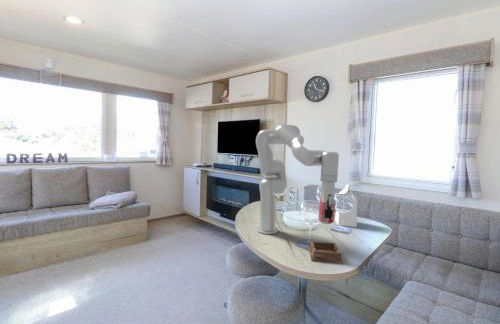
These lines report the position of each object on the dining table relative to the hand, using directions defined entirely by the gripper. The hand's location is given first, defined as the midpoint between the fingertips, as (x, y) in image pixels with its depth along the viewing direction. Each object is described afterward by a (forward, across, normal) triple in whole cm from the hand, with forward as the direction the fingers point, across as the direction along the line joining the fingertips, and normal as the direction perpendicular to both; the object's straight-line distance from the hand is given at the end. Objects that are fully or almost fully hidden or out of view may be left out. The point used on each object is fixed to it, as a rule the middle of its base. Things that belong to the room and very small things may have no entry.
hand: (326, 215), depth 123 cm
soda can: (+4, 0, 0) cm, 4 cm away
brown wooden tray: (+20, 0, 0) cm, 20 cm away
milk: (+20, -53, +22) cm, 61 cm away
